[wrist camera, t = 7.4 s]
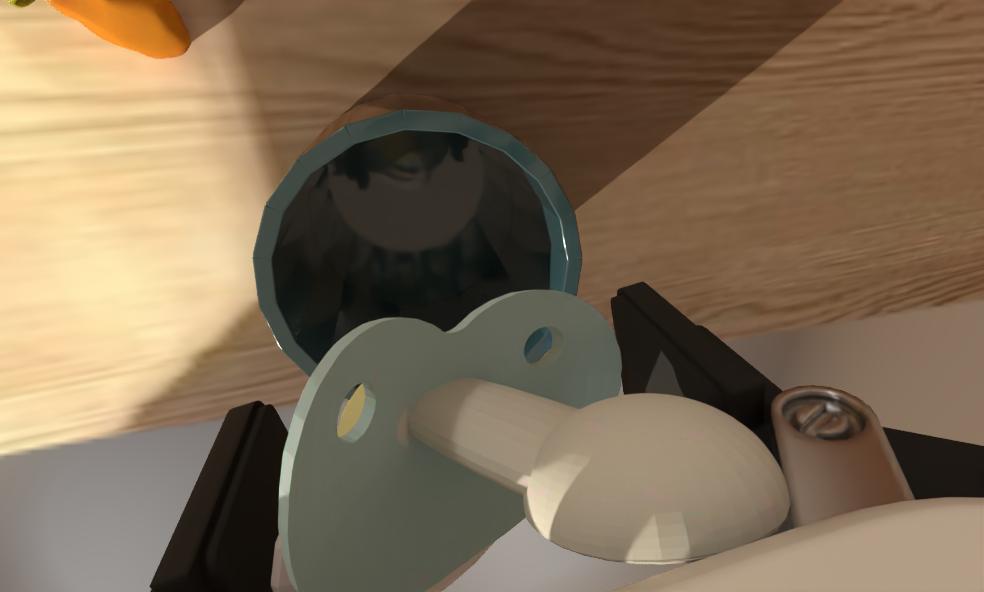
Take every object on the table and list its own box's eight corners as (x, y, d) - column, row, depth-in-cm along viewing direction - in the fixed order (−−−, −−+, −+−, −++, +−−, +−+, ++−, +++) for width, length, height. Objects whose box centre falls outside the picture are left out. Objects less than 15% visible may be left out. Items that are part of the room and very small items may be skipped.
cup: (492, 66, 24) (551, 68, 15) (537, 274, 29) (600, 362, 20) (259, 129, 23) (186, 168, 15) (347, 332, 28) (331, 448, 20)
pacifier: (527, 496, 13) (536, 269, 12) (800, 643, 9) (859, 320, 8) (234, 698, 8) (193, 327, 7) (573, 1283, 4) (645, 590, 2)
